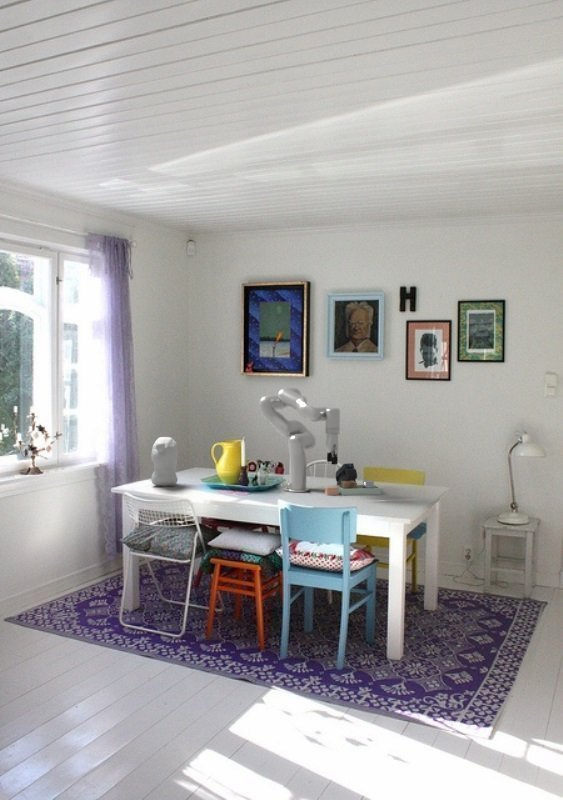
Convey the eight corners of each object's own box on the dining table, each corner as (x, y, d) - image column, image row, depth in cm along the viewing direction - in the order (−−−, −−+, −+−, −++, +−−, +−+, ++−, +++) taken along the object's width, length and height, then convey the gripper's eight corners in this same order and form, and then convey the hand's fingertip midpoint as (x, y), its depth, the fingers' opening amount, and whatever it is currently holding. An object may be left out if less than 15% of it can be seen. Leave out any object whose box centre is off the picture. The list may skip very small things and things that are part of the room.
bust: (181, 483, 433) (181, 435, 432) (172, 491, 407) (172, 440, 405) (156, 482, 434) (156, 434, 432) (145, 490, 408) (145, 439, 406)
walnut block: (344, 494, 401) (344, 483, 400) (340, 491, 408) (341, 480, 407) (356, 493, 402) (357, 482, 402) (353, 491, 409) (353, 480, 408)
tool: (350, 486, 412) (345, 461, 418) (337, 498, 428) (331, 473, 434) (360, 486, 414) (354, 461, 420) (346, 497, 430) (341, 473, 436)
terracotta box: (327, 497, 397) (327, 487, 397) (324, 495, 402) (324, 486, 402) (337, 496, 398) (338, 487, 398) (335, 495, 403) (335, 485, 403)
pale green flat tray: (341, 496, 398) (341, 489, 398) (336, 492, 410) (336, 485, 409) (381, 495, 402) (381, 488, 402) (374, 491, 414) (374, 484, 413)
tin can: (364, 493, 403) (364, 482, 403) (361, 491, 409) (361, 480, 409) (375, 493, 404) (375, 482, 404) (371, 491, 410) (372, 480, 410)
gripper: (321, 429, 406) (321, 460, 407) (329, 432, 389) (329, 465, 390) (335, 429, 407) (335, 460, 408) (343, 432, 390) (343, 465, 391)
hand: (332, 463), depth 399 cm, fingers open, 9 cm apart
